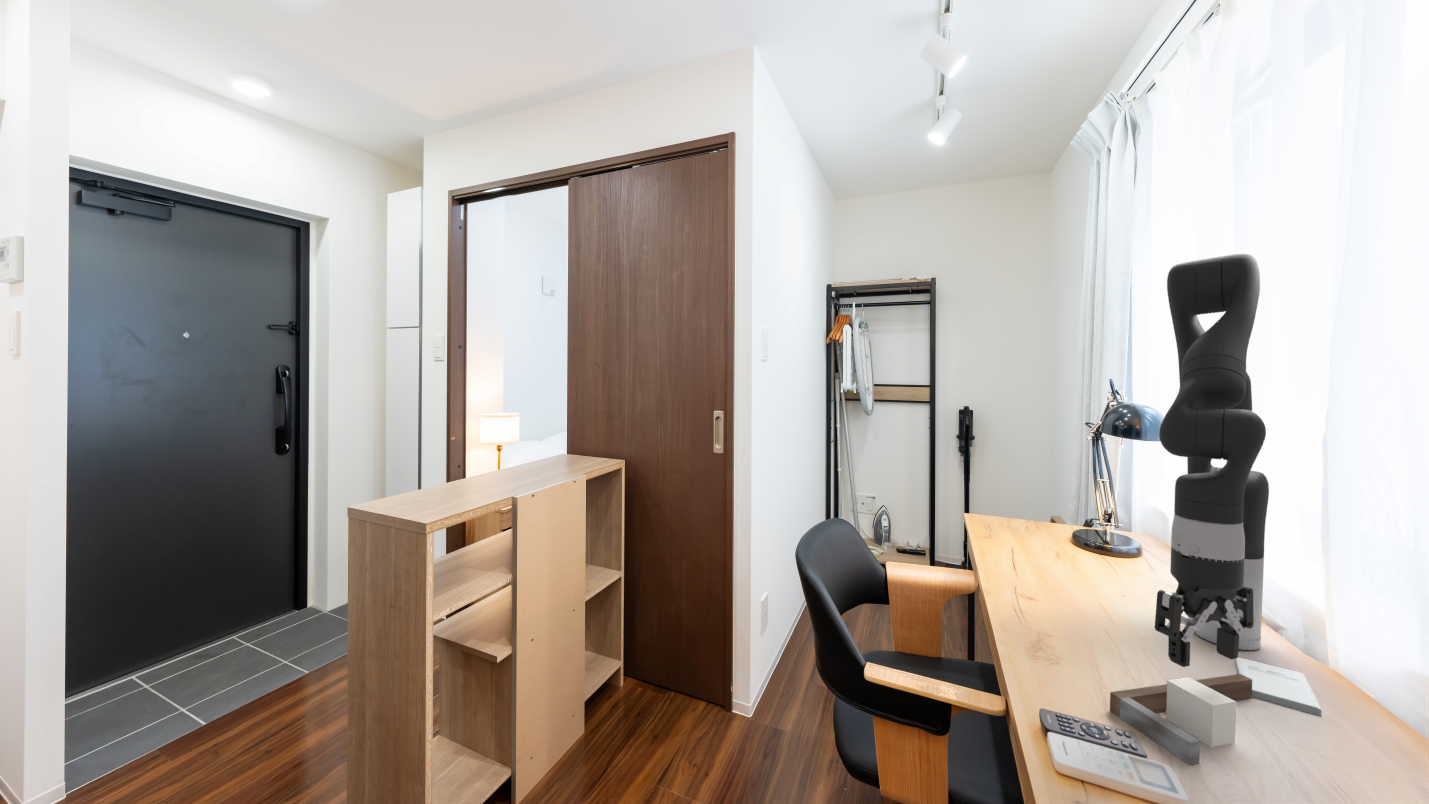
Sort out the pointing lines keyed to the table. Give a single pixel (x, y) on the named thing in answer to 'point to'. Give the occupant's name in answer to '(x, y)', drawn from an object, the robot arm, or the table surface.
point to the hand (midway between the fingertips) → (1203, 660)
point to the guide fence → (1147, 701)
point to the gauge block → (1201, 711)
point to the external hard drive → (1279, 685)
